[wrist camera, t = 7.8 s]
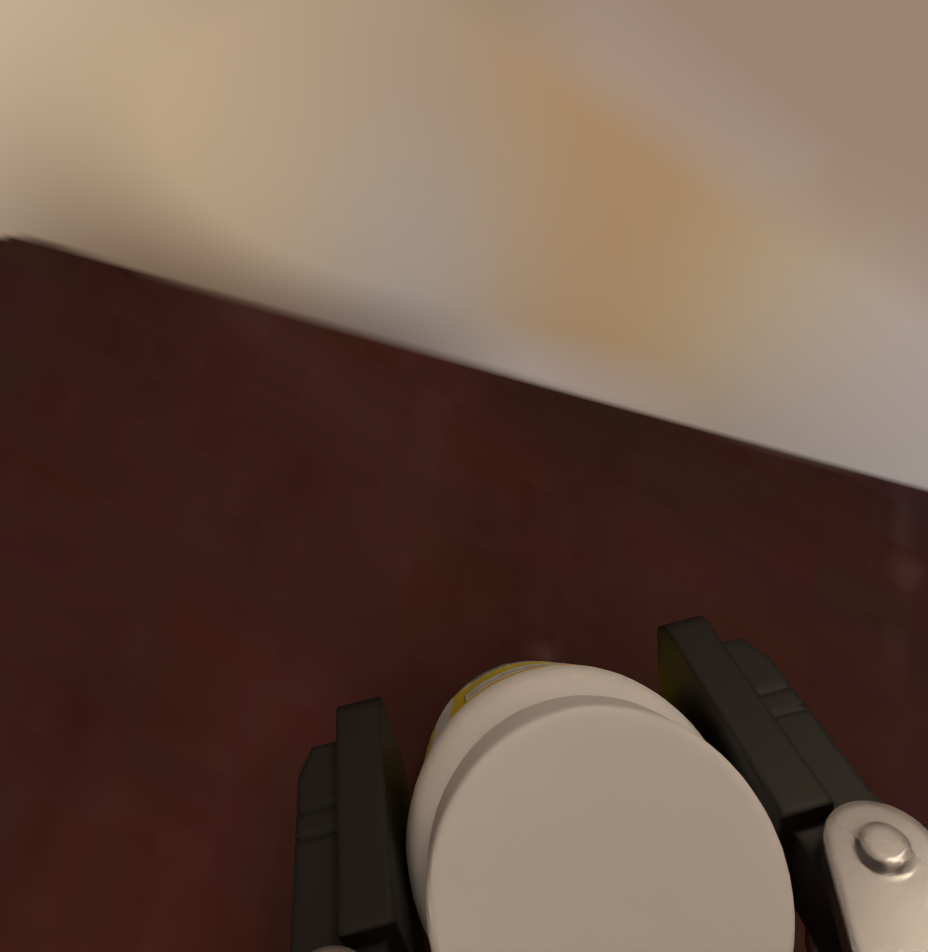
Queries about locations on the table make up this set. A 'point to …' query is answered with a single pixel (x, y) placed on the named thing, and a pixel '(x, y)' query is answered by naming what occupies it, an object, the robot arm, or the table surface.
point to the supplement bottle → (587, 825)
